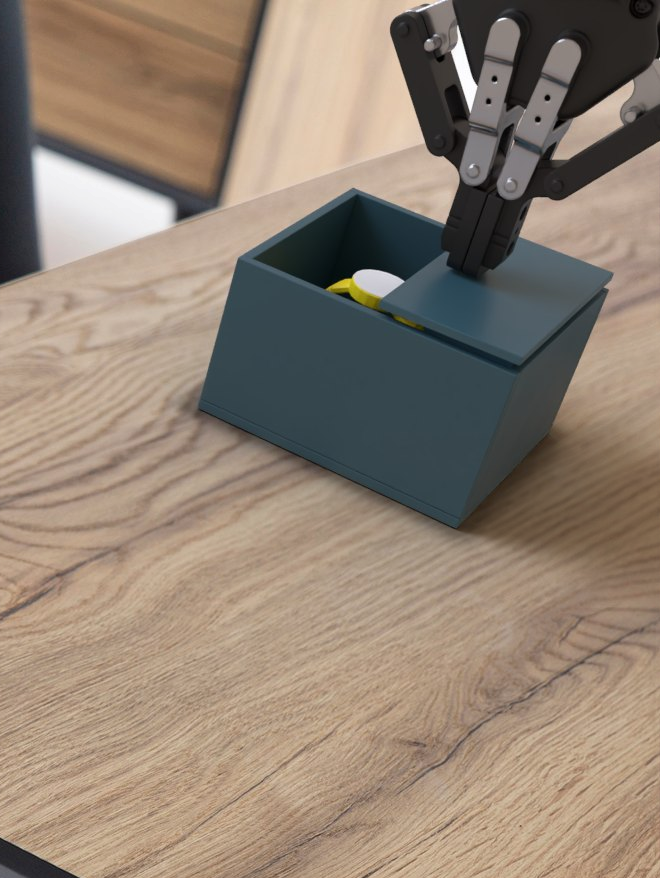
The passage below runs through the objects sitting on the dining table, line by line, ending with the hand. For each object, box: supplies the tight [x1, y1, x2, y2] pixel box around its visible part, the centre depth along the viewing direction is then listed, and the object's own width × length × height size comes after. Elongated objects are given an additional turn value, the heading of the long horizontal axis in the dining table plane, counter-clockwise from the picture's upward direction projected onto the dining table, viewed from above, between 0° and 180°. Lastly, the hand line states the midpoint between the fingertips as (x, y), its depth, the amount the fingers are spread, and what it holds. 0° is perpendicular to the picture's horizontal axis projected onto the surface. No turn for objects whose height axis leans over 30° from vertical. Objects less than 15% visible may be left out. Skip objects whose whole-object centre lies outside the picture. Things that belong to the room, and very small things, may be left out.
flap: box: [378, 236, 615, 366], centre depth 75 cm, size 6×12×1 cm, turn 146°
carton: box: [197, 187, 610, 529], centre depth 79 cm, size 13×12×8 cm
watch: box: [325, 269, 424, 331], centre depth 79 cm, size 6×3×6 cm, turn 52°
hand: (468, 267), depth 75 cm, fingers closed
